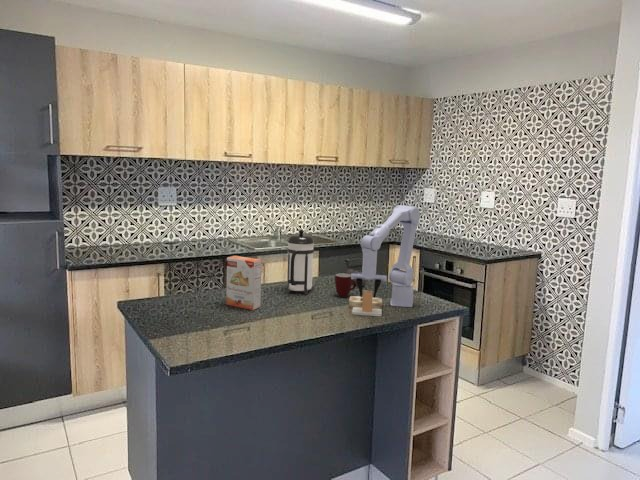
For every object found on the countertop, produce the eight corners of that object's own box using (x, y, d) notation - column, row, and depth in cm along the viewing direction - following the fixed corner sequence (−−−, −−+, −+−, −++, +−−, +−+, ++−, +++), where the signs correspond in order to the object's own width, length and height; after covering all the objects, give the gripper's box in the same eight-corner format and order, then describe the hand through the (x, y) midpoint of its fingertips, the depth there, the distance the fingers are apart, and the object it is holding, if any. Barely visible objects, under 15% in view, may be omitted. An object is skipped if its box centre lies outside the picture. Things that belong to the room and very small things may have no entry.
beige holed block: (381, 304, 211) (381, 298, 210) (381, 310, 202) (381, 303, 201) (350, 302, 212) (350, 295, 212) (348, 308, 203) (348, 301, 203)
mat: (381, 311, 200) (381, 309, 200) (381, 316, 193) (381, 314, 193) (353, 309, 202) (353, 307, 202) (352, 314, 195) (352, 312, 195)
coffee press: (277, 288, 231) (278, 227, 226) (307, 286, 238) (309, 227, 233) (290, 298, 216) (292, 232, 211) (322, 295, 222) (324, 232, 218)
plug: (371, 309, 199) (372, 290, 198) (371, 312, 196) (372, 293, 194) (362, 308, 200) (363, 290, 199) (362, 311, 196) (362, 292, 195)
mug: (349, 292, 229) (350, 272, 228) (359, 296, 222) (360, 275, 221) (331, 294, 224) (331, 274, 222) (340, 299, 217) (341, 277, 215)
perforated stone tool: (368, 287, 241) (369, 274, 240) (359, 288, 238) (360, 274, 237) (352, 280, 254) (353, 268, 253) (344, 281, 251) (345, 268, 250)
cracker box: (225, 305, 201) (226, 257, 198) (234, 302, 206) (235, 254, 203) (252, 311, 195) (253, 261, 191) (261, 307, 200) (262, 258, 197)
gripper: (351, 265, 191) (349, 298, 194) (387, 267, 190) (385, 300, 192) (352, 262, 198) (350, 293, 200) (387, 264, 197) (385, 296, 199)
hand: (367, 296), depth 197 cm, fingers open, 5 cm apart
